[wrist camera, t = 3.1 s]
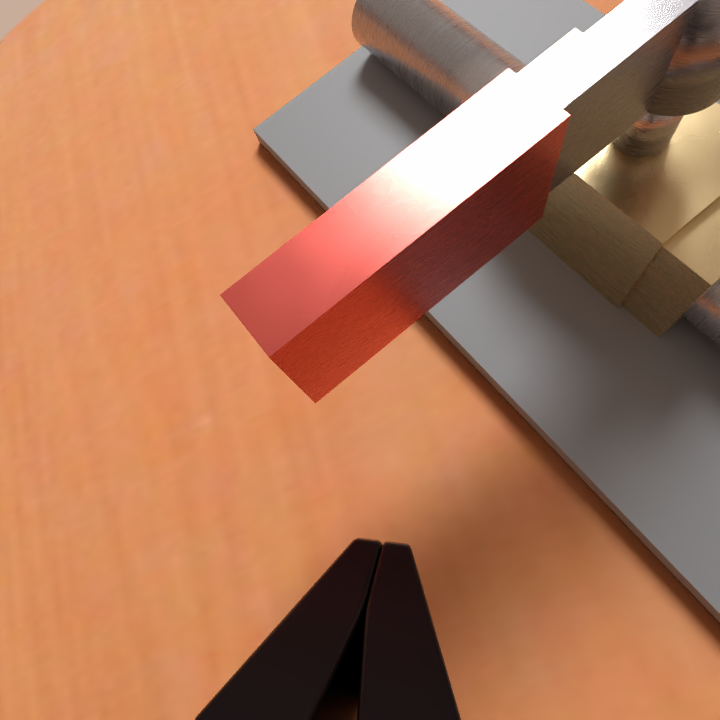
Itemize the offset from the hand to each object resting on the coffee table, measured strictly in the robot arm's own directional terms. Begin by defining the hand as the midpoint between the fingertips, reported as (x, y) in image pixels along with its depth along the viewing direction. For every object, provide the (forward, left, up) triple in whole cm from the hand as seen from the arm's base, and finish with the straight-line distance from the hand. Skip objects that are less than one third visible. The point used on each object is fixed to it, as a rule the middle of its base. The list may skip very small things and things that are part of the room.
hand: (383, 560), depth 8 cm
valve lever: (+7, +5, -3) cm, 9 cm away
